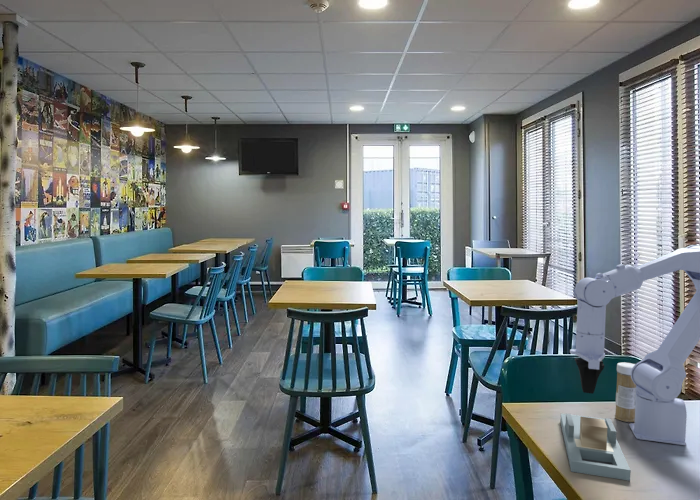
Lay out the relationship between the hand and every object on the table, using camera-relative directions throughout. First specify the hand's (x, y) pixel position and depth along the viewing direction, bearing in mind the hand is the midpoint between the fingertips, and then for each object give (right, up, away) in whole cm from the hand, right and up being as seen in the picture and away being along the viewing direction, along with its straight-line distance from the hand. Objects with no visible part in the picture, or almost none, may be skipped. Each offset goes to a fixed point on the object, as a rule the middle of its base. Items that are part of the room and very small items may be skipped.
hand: (587, 392), depth 112 cm
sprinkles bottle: (+13, -9, +9) cm, 18 cm away
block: (-3, -8, -9) cm, 13 cm away
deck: (-2, -10, -7) cm, 12 cm away
